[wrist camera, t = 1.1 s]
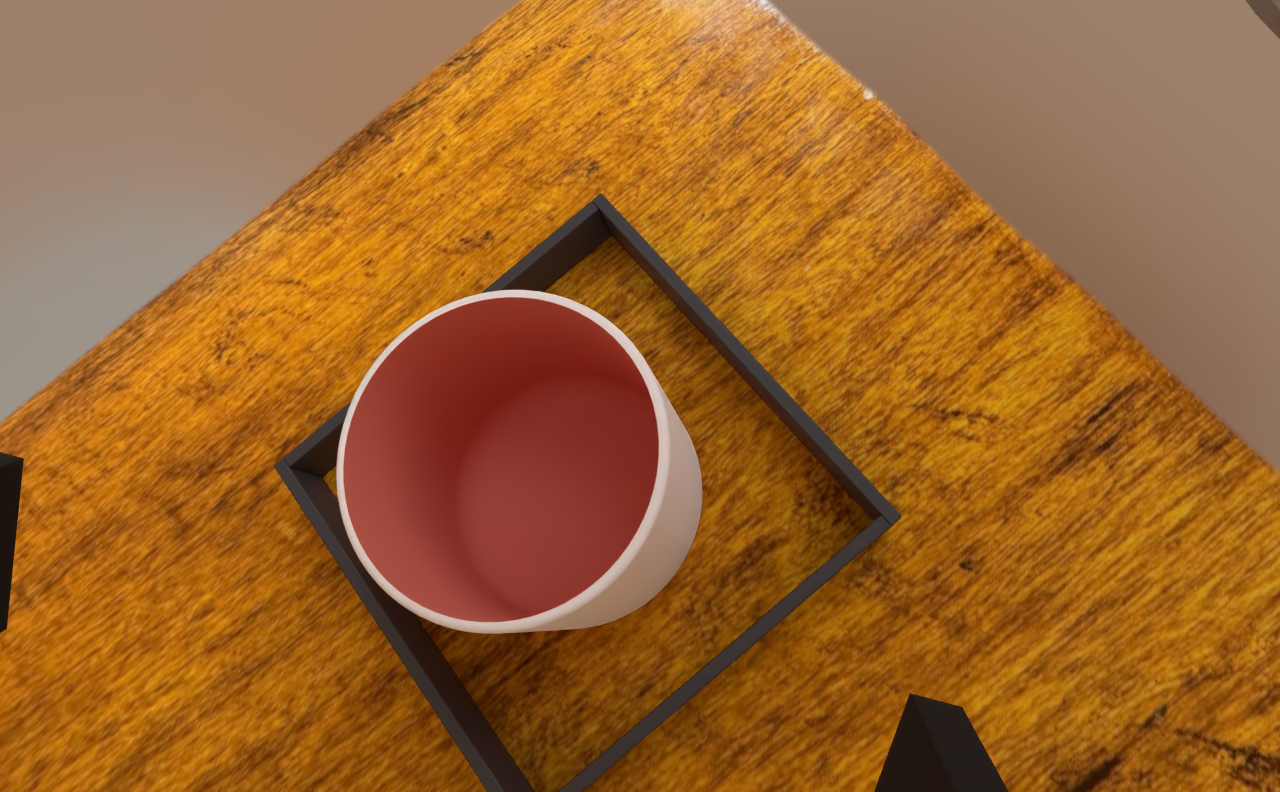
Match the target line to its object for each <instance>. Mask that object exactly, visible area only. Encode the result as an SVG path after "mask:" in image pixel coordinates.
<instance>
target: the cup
mask: <svg viewBox="0 0 1280 792" xmlns="http://www.w3.org/2000/svg"><path fill="white" fill-rule="evenodd" d="M336 481H337V494H338V501H339V507H340V511H341V516H342V520H343V523H344V526H345V529H346V532H347V535H348V537H349V540H350V542H351V544H352V546H353V549H354V550H355V552H356V554H357V556H358V558H359V559H360V561H361V563H362V564H363V566H364V567H365V569H366V570H367V571H368V573H369V574H370V575H371V577H372V578H373V579H374V580H375V581H376V583H377V584H378V585H379V586H380V587H381V588H382V589H383V590H384V591H385V592H386V593H387V594H388V595H390V596H391V597H392V598H393V599H394V600H396V601H397V602H398V603H399V604H401V605H402V606H404V607H405V608H407V609H408V610H410V611H412V612H413V613H415V614H417V615H418V616H420V617H422V618H424V619H427V620H429V621H431V622H433V623H436V624H439V625H442V626H445V627H448V628H451V629H456V630H460V631H465V632H472V633H485V634H500V633H517V632H534V631H551V630H568V629H581V628H589V627H594V626H599V625H603V624H606V623H609V622H612V621H615V620H617V619H620V618H622V617H624V616H626V615H628V614H630V613H632V612H634V611H635V610H637V609H638V608H640V607H642V606H643V605H645V604H646V603H647V602H649V601H650V600H651V599H652V598H654V597H655V596H656V595H657V594H658V593H659V592H660V591H661V590H662V589H663V588H664V587H665V586H666V585H667V584H668V583H669V582H670V580H671V579H672V578H673V577H674V575H675V574H676V573H677V571H678V570H679V568H680V567H681V565H682V563H683V562H684V560H685V558H686V556H687V554H688V552H689V550H690V548H691V546H692V543H693V541H694V538H695V535H696V532H697V528H698V524H699V520H700V515H701V508H702V478H701V471H700V466H699V461H698V457H697V454H696V451H695V448H694V445H693V443H692V440H691V438H690V436H689V434H688V432H687V430H686V428H685V427H684V425H683V423H682V422H681V420H680V418H679V416H678V415H677V413H676V411H675V410H674V408H673V406H672V405H671V403H670V401H669V399H668V398H667V396H666V394H665V393H664V391H663V389H662V388H661V386H660V384H659V383H658V381H657V379H656V378H655V376H654V374H653V372H652V371H651V369H650V367H649V366H648V364H647V362H646V361H645V359H644V357H643V356H642V355H641V353H640V352H639V351H638V349H637V348H636V347H635V345H634V344H633V343H632V342H631V341H630V340H629V339H628V337H627V336H626V335H625V334H624V333H623V332H622V331H621V330H619V329H618V328H617V327H616V326H615V325H614V324H612V323H611V322H610V321H609V320H607V319H606V318H605V317H603V316H602V315H600V314H598V313H597V312H595V311H594V310H592V309H590V308H588V307H586V306H584V305H582V304H580V303H577V302H575V301H573V300H570V299H567V298H564V297H561V296H558V295H554V294H549V293H545V292H540V291H530V290H500V291H493V292H485V293H481V294H477V295H473V296H469V297H466V298H463V299H460V300H457V301H455V302H452V303H449V304H447V305H445V306H443V307H441V308H439V309H437V310H435V311H433V312H431V313H429V314H428V315H426V316H425V317H423V318H422V319H420V320H418V321H417V322H415V323H414V324H413V325H411V326H410V327H409V328H408V329H406V330H405V331H404V332H403V333H401V334H400V335H399V336H398V337H397V338H396V339H395V340H394V341H393V342H392V343H391V344H390V345H389V346H388V347H387V348H386V349H385V350H384V351H383V353H382V354H381V355H380V356H379V357H378V358H377V360H376V361H375V362H374V364H373V365H372V366H371V368H370V369H369V371H368V372H367V374H366V375H365V377H364V378H363V380H362V382H361V384H360V385H359V387H358V389H357V391H356V393H355V395H354V397H353V400H352V402H351V404H350V406H349V409H348V412H347V415H346V418H345V421H344V424H343V428H342V432H341V436H340V441H339V447H338V454H337V469H336Z"/></svg>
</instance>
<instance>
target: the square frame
mask: <svg viewBox="0 0 1280 792" xmlns="http://www.w3.org/2000/svg"><path fill="white" fill-rule="evenodd" d="M610 235H612V236H613V237H614V238H615V239H616V240H617V241H618V242H619V243H620V244H621V246H622V247H623V248H624V249H625V250H626V251H627V252H628V253H629V254H630V255H631V257H632V258H633V259H634V260H635V261H636V262H637V263H638V264H639V265H640V266H641V267H642V269H643V270H644V271H645V272H646V273H647V274H648V275H649V276H650V277H651V278H652V279H653V281H654V282H655V283H656V284H657V285H658V286H659V287H660V288H661V289H662V290H663V291H664V293H665V294H666V295H667V296H668V297H669V298H670V299H671V300H672V301H673V302H674V303H675V305H676V306H677V307H678V308H679V309H680V310H681V311H682V312H683V313H684V314H685V315H686V317H687V318H688V319H689V320H690V321H691V322H692V323H693V324H694V325H695V326H696V327H697V329H698V330H699V331H700V332H701V333H702V334H703V335H704V336H705V337H706V338H707V339H708V341H709V342H710V343H711V344H712V345H713V346H714V347H715V348H716V349H717V350H718V351H719V353H720V354H721V355H722V356H723V357H724V358H725V359H726V360H727V361H728V362H729V363H730V365H731V366H732V367H733V368H734V369H735V370H736V371H737V372H738V373H739V374H740V375H741V377H742V378H743V379H744V380H745V381H746V382H747V383H748V384H749V385H750V386H751V388H752V389H753V390H754V391H755V392H756V393H757V394H758V395H759V396H760V397H761V398H762V400H763V401H764V402H765V403H766V404H767V405H768V406H769V407H770V408H771V409H772V410H773V412H774V413H775V414H776V415H777V416H778V417H779V418H780V419H781V420H782V421H783V422H784V424H785V425H786V426H787V427H788V428H789V429H790V430H791V431H792V432H793V433H794V434H795V436H796V437H797V438H798V439H799V440H800V441H801V442H802V443H803V444H804V445H805V446H806V448H807V449H808V450H809V451H810V452H811V453H812V454H813V455H814V456H815V457H816V458H817V460H818V461H819V462H820V463H821V464H822V465H823V466H824V467H825V468H826V469H827V470H828V472H829V473H830V474H831V475H832V476H833V477H834V478H835V479H836V480H837V481H838V482H839V484H840V485H841V486H842V487H843V488H844V489H845V490H846V491H847V492H848V493H849V494H850V496H851V497H852V498H853V499H854V500H855V501H856V502H857V503H858V504H859V505H860V506H861V508H862V509H863V510H864V511H865V512H866V513H867V514H868V515H869V516H870V517H871V519H872V520H873V522H872V523H871V524H870V525H869V526H868V527H866V528H865V529H864V530H863V531H862V532H861V533H859V534H858V535H857V536H856V537H855V538H854V539H852V540H851V541H850V542H849V543H848V544H847V545H845V546H844V547H843V548H842V549H841V550H840V551H838V552H837V553H836V554H835V555H834V556H833V557H831V558H830V559H829V560H828V561H827V562H826V563H824V564H823V565H822V566H821V567H820V568H819V569H817V570H816V571H815V572H814V573H813V574H812V575H810V576H809V577H808V578H807V579H806V580H805V581H803V582H802V583H801V584H800V585H799V586H798V587H796V588H795V589H794V590H793V591H792V592H791V593H789V594H788V595H787V596H786V597H785V598H784V599H782V600H781V601H780V602H779V603H778V604H777V605H775V606H774V607H773V608H772V609H771V610H769V611H768V612H767V613H766V614H765V615H764V616H762V617H761V618H760V619H759V620H758V621H757V622H755V623H754V624H753V625H752V626H751V627H750V628H748V629H747V630H746V631H745V632H744V633H743V634H741V635H740V636H739V637H738V638H737V639H736V640H734V641H733V642H732V643H731V644H730V645H729V646H727V647H726V648H725V649H724V650H723V651H722V652H720V653H719V654H718V655H717V656H716V657H715V658H713V659H712V660H711V661H710V662H709V663H708V664H706V665H705V666H704V667H703V668H702V669H701V670H699V671H698V672H697V673H696V674H695V675H694V676H692V677H691V678H690V679H689V680H688V681H687V682H685V683H684V684H683V685H682V686H681V687H680V688H678V689H677V690H676V691H675V692H674V693H673V694H671V695H670V696H669V697H668V698H667V699H666V700H664V701H663V702H662V703H661V704H660V705H659V706H657V707H656V708H655V709H654V710H653V711H652V712H650V713H649V714H648V715H647V716H646V717H645V718H643V719H642V720H641V721H640V722H639V723H638V724H636V725H635V726H634V727H633V728H632V729H631V730H629V731H628V732H627V733H626V734H625V735H624V736H622V737H621V738H620V739H619V740H618V741H617V742H615V743H614V744H613V745H612V746H611V747H610V748H608V749H607V750H606V751H605V752H604V753H603V754H601V755H600V756H599V757H598V758H597V759H596V760H594V761H593V762H592V763H591V764H590V765H589V766H587V767H586V768H585V769H584V770H583V771H582V772H580V773H579V774H578V775H577V776H576V777H575V778H573V779H572V780H571V781H570V782H569V783H568V784H566V785H565V786H564V787H563V788H562V789H561V790H559V791H558V792H583V791H584V790H585V789H586V788H587V787H588V786H590V785H591V784H592V783H593V782H594V781H595V780H597V779H598V778H599V777H600V776H601V775H602V774H604V773H605V772H606V771H607V770H608V769H609V768H611V767H612V766H613V765H614V764H615V763H616V762H618V761H619V760H620V759H621V758H622V757H623V756H625V755H626V754H627V753H628V752H629V751H630V750H632V749H633V748H634V747H635V746H636V745H637V744H639V743H640V742H641V741H642V740H643V739H644V738H646V737H647V736H648V735H649V734H650V733H651V732H653V731H654V730H655V729H656V728H657V727H658V726H660V725H661V724H662V723H663V722H664V721H665V720H667V719H668V718H669V717H670V716H671V715H672V714H674V713H675V712H676V711H677V710H678V709H679V708H681V707H682V706H683V705H684V704H685V703H686V702H688V701H689V700H690V699H691V698H692V697H693V696H695V695H696V694H697V693H698V692H699V691H700V690H702V689H703V688H704V687H705V686H706V685H707V684H709V683H710V682H711V681H712V680H713V679H714V678H716V677H717V676H718V675H719V674H720V673H721V672H723V671H724V670H725V669H726V668H727V667H728V666H730V665H731V664H732V663H733V662H734V661H735V660H737V659H738V658H739V657H740V656H741V655H742V654H744V653H745V652H746V651H747V650H748V649H749V648H751V647H752V646H753V645H754V644H755V643H756V642H758V641H759V640H760V639H761V638H762V637H763V636H765V635H766V634H767V633H768V632H769V631H770V630H771V629H773V628H774V627H775V626H776V625H777V624H778V623H780V622H781V621H782V620H783V619H784V618H785V617H787V616H788V615H789V614H790V613H791V612H792V611H794V610H795V609H796V608H797V607H798V606H799V605H801V604H802V603H803V602H804V601H805V600H806V599H808V598H809V597H810V596H811V595H812V594H813V593H815V592H816V591H817V590H818V589H819V588H820V587H822V586H823V585H824V584H825V583H826V582H827V581H829V580H830V579H831V578H832V577H833V576H834V575H836V574H837V573H838V572H839V571H840V570H841V569H843V568H844V567H845V566H846V565H847V564H848V563H850V562H851V561H852V560H853V559H854V558H855V557H857V556H858V555H859V554H860V553H861V552H862V551H864V550H865V549H866V548H867V547H868V546H869V545H871V544H872V543H873V542H874V541H875V540H876V539H878V538H879V537H880V536H881V535H882V534H883V533H884V532H886V531H887V530H888V529H889V528H890V527H892V526H893V525H894V524H895V523H896V522H897V521H898V520H899V519H900V518H901V515H900V514H899V513H898V512H897V510H896V509H895V508H894V507H893V506H892V505H891V504H890V503H889V502H888V501H887V500H886V499H885V498H884V497H883V495H882V494H881V493H880V492H879V491H878V490H877V489H876V488H875V487H874V486H873V485H872V484H871V483H870V481H869V480H868V479H867V478H866V477H865V476H864V475H863V474H862V473H861V472H860V471H859V470H858V469H857V467H856V466H855V465H854V464H853V463H852V462H851V461H850V460H849V459H848V458H847V457H846V456H845V455H844V454H843V452H842V451H841V450H840V449H839V448H838V447H837V446H836V445H835V444H834V443H833V442H832V441H831V440H830V438H829V437H828V436H827V435H826V434H825V433H824V432H823V431H822V430H821V429H820V428H819V427H818V426H817V425H816V423H815V422H814V421H813V420H812V419H811V418H810V417H809V416H808V415H807V414H806V413H805V412H804V411H803V409H802V408H801V407H800V406H799V405H798V404H797V403H796V402H795V401H794V400H793V399H792V398H791V397H790V396H789V394H788V393H787V392H786V391H785V390H784V389H783V388H782V387H781V386H780V385H779V384H778V383H777V382H776V380H775V379H774V378H773V377H772V376H771V375H770V374H769V373H768V372H767V371H766V370H765V369H764V368H763V367H762V365H761V364H760V363H759V362H758V361H757V360H756V359H755V358H754V357H753V356H752V355H751V354H750V353H749V351H748V350H747V349H746V348H745V347H744V346H743V345H742V344H741V343H740V342H739V341H738V340H737V339H736V338H735V336H734V335H733V334H732V333H731V332H730V331H729V330H728V329H727V328H726V327H725V326H724V325H723V324H722V322H721V321H720V320H719V319H718V318H717V317H716V316H715V315H714V314H713V313H712V312H711V311H710V310H709V309H708V307H707V306H706V305H705V304H704V303H703V302H702V301H701V300H700V299H699V298H698V297H697V296H696V295H695V293H694V292H693V291H692V290H691V289H690V288H689V287H688V286H687V285H686V284H685V283H684V282H683V281H682V280H681V278H680V277H679V276H678V275H677V274H676V273H675V272H674V271H673V270H672V269H671V268H670V267H669V266H668V264H667V263H666V262H665V261H664V260H663V259H662V258H661V257H660V256H659V255H658V254H657V253H656V252H655V251H654V249H653V248H652V247H651V246H650V245H649V244H648V243H647V242H646V241H645V240H644V239H643V238H642V237H641V235H640V234H639V233H638V232H637V231H636V230H635V229H634V228H633V227H632V226H631V225H630V224H629V223H628V222H627V220H626V219H625V218H624V217H623V216H622V215H621V214H620V213H619V212H618V211H617V210H616V209H615V208H614V206H613V205H612V204H611V203H610V202H609V201H608V200H607V199H606V198H605V197H604V196H603V195H602V194H599V195H598V196H597V197H596V198H594V199H593V200H592V202H590V203H588V204H587V205H586V206H585V207H584V208H582V209H581V210H580V211H579V212H578V213H576V214H575V215H574V216H573V217H572V218H570V219H569V220H568V221H567V222H566V223H565V224H563V225H562V226H561V227H560V228H559V229H557V230H556V231H555V232H554V233H553V234H551V235H550V236H549V237H548V238H547V239H545V240H544V241H543V242H542V243H541V244H539V245H538V246H537V247H536V248H535V249H533V250H532V251H531V252H530V253H529V254H527V255H526V256H525V257H524V258H523V259H521V260H520V261H519V262H518V263H517V264H515V265H514V266H513V267H512V268H511V269H509V270H508V271H507V272H506V273H505V274H503V275H502V276H501V277H500V278H499V279H497V280H496V281H495V282H494V283H493V284H491V285H490V286H489V287H488V288H487V289H485V290H484V291H483V292H482V293H485V292H493V291H500V290H530V291H540V292H543V291H545V290H546V289H547V288H548V287H549V286H551V285H552V284H553V283H554V282H555V281H557V280H558V279H559V278H560V277H561V276H563V275H564V274H565V273H566V272H567V271H569V270H570V269H571V268H572V267H573V266H574V265H576V264H577V263H578V262H579V261H580V260H582V259H583V258H584V257H585V256H586V255H588V254H589V253H590V252H591V251H592V250H594V249H595V248H596V247H597V246H598V245H600V244H601V243H602V242H603V241H604V240H606V239H607V238H608V237H609V236H610ZM351 402H352V401H351ZM351 402H350V403H349V404H347V405H346V406H345V407H344V408H343V409H342V410H340V411H339V412H338V413H337V414H336V415H334V416H333V417H332V418H331V419H330V420H328V421H327V422H326V423H325V424H324V425H322V426H321V427H320V428H319V429H318V430H316V431H315V432H314V433H313V434H312V435H310V436H309V437H308V438H307V439H306V440H304V441H303V442H302V443H301V444H300V445H298V446H297V447H296V448H295V449H294V450H292V451H291V452H290V453H289V454H288V455H286V456H285V457H284V459H282V460H280V461H279V462H278V463H277V464H276V465H274V467H275V469H276V470H277V472H278V473H279V475H280V476H281V478H282V480H283V481H284V483H285V484H286V486H287V487H288V489H289V490H290V492H291V493H292V495H293V496H294V498H295V499H296V501H297V502H298V504H299V505H300V507H301V508H302V510H303V511H304V513H305V515H306V516H307V518H308V519H309V521H310V522H311V524H312V525H313V527H314V528H315V530H316V531H317V533H318V534H319V536H320V537H321V539H322V540H323V542H324V543H325V545H326V546H327V548H328V550H329V551H330V553H331V554H332V556H333V557H334V559H335V560H336V562H337V563H338V565H339V566H340V568H341V569H342V571H343V572H344V574H345V575H346V577H347V578H348V580H349V581H350V583H351V584H352V586H353V588H354V589H355V591H356V592H357V594H358V595H359V597H360V598H361V600H362V601H363V603H364V604H365V606H366V607H367V609H368V610H369V612H370V613H371V615H372V616H373V618H374V619H375V621H376V623H377V624H378V626H379V627H380V629H381V630H382V632H383V633H384V635H385V636H386V638H387V639H388V641H389V642H390V644H391V645H392V647H393V648H394V650H395V651H396V653H397V654H398V656H399V658H400V659H401V661H402V662H403V664H404V665H405V667H406V668H407V670H408V671H409V673H410V674H411V676H412V677H413V679H414V680H415V682H416V683H417V685H418V686H419V688H420V689H421V691H422V693H423V694H424V696H425V697H426V699H427V700H428V702H429V703H430V705H431V706H432V708H433V709H434V711H435V712H436V714H437V715H438V717H439V718H440V720H441V721H442V723H443V724H444V726H445V728H446V729H447V731H448V732H449V734H450V735H451V737H452V738H453V740H454V741H455V743H456V744H457V746H458V747H459V749H460V750H461V752H462V753H463V755H464V756H465V758H466V759H467V761H468V762H469V764H470V766H471V767H472V769H473V770H474V772H475V773H476V775H477V776H478V778H479V779H480V781H481V782H482V784H483V785H484V787H485V788H486V790H487V791H488V792H534V790H533V789H532V787H531V786H530V784H529V783H528V781H527V780H526V778H525V777H524V775H523V774H522V772H521V771H520V769H519V768H518V766H517V765H516V764H515V762H514V761H513V759H512V758H511V756H510V755H509V753H508V752H507V750H506V749H505V747H504V746H503V744H502V743H501V741H500V740H499V738H498V737H497V735H496V734H495V732H494V731H493V730H492V728H491V727H490V725H489V724H488V722H487V721H486V719H485V718H484V716H483V715H482V713H481V712H480V710H479V709H478V707H477V706H476V704H475V703H474V701H473V700H472V698H471V697H470V696H469V694H468V693H467V691H466V690H465V688H464V687H463V685H462V684H461V682H460V681H459V679H458V678H457V676H456V675H455V673H454V672H453V670H452V669H451V667H450V666H449V664H448V663H447V662H446V660H445V659H444V657H443V656H442V654H441V653H440V651H439V650H438V648H437V647H436V645H435V644H434V642H433V641H432V639H431V638H430V636H429V635H428V633H427V632H426V630H425V629H424V628H423V626H422V625H421V623H420V622H419V620H418V619H417V617H416V616H415V614H414V613H413V612H412V611H410V610H408V609H407V608H405V607H404V606H402V605H401V604H399V603H398V602H397V601H396V600H394V599H393V598H392V597H391V596H390V595H388V594H387V593H386V592H385V591H384V590H383V589H382V588H381V587H380V586H379V585H378V584H377V583H376V581H375V580H374V579H373V578H372V577H371V575H370V574H369V573H368V571H367V570H366V569H365V567H364V566H363V564H362V563H361V561H360V559H359V558H358V556H357V554H356V552H355V550H354V549H353V546H352V544H351V542H350V540H349V537H348V535H347V532H346V529H345V526H344V523H343V520H342V516H341V511H340V507H339V502H338V500H337V499H336V497H335V496H334V494H333V493H332V491H331V490H330V489H329V487H328V486H327V484H326V483H325V481H324V480H323V478H322V477H321V476H323V475H325V474H326V473H327V472H328V471H329V470H330V469H332V468H333V467H334V466H335V465H336V464H337V454H338V447H339V441H340V436H341V432H342V428H343V424H344V421H345V418H346V415H347V412H348V409H349V406H350V404H351Z"/></svg>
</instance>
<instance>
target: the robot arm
mask: <svg viewBox="0 0 1280 792" xmlns="http://www.w3.org/2000/svg"><path fill="white" fill-rule="evenodd" d="M23 460H24V459H23V458H20V457H16V456H12V455H8V454H5V453H1V452H0V633H1V632H2V631H4V630H6V629H7V620H8V610H9V600H10V590H11V580H12V570H13V560H14V550H15V540H16V530H17V520H18V510H19V500H20V490H21V480H22V470H23ZM874 792H1008V790H1007V788H1006V786H1005V784H1004V783H1003V781H1002V779H1001V777H1000V775H999V773H998V772H997V770H996V768H995V766H994V764H993V763H992V761H991V759H990V757H989V755H988V753H987V752H986V750H985V748H984V746H983V744H982V743H981V741H980V739H979V737H978V735H977V733H976V732H975V730H974V728H973V726H972V724H971V722H970V721H969V719H968V717H967V715H966V713H965V712H964V710H963V708H962V707H960V706H956V705H952V704H948V703H945V702H941V701H937V700H933V699H930V698H926V697H922V696H918V695H914V694H911V693H910V695H909V698H908V700H907V703H906V706H905V709H904V711H903V714H902V717H901V720H900V722H899V725H898V728H897V731H896V733H895V736H894V739H893V742H892V744H891V747H890V750H889V753H888V755H887V758H886V761H885V764H884V766H883V769H882V772H881V775H880V777H879V780H878V783H877V786H876V788H875V791H874Z"/></svg>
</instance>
